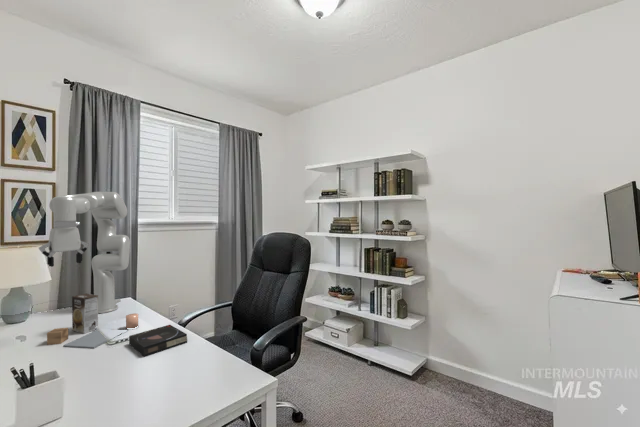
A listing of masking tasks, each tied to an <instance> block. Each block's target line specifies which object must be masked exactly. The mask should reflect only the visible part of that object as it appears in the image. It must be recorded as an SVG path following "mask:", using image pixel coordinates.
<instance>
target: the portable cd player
mask: <svg viewBox="0 0 640 427" xmlns="http://www.w3.org/2000/svg"><path fill="white" fill-rule="evenodd" d="M128 338H129V339H128V342H129V344H128V345H129V346H130V347H131V348H132V349H134V350H136V352H138V353H139V354H140V355H141V356H142V357H147V356H150V355H154V354H157V353H161V352H163V351H165V350H169V349H171V348H174V347H177V346H180V345H183V344H186V343H188V336H187V333H186V332H184V331H182V330H181V329H179V328H177V327H175V326H173V325H171V324H167V325H164V326H160V327H156V328H153V329H149V330H145V331H142V332H138V333H135V334H131V335H129V336H128Z"/></svg>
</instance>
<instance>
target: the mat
mask: <svg viewBox="0 0 640 427" xmlns="http://www.w3.org/2000/svg"><path fill="white" fill-rule="evenodd" d="M97 330H98V329H96V330H93V331H91V332H88V334H87V333H86V334H85V335H83V336H81V337H79V338H75V340H72V341H69V342H68V343H66V344H63V348H76V349H77V348H78V349H79V348H80V349H96V348H98V347H101V345H104V344H105V343H107V340H106V339H105V338H104V337H103V335H102V334H101V333H100V332H98V331H97Z"/></svg>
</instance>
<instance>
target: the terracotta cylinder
mask: <svg viewBox="0 0 640 427" xmlns="http://www.w3.org/2000/svg"><path fill="white" fill-rule="evenodd" d="M137 326H138V327H139V313H130V314H129V313H128V314H127V315H126V316H125V329H126V328H135V327H137Z"/></svg>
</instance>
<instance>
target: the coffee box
mask: <svg viewBox="0 0 640 427" xmlns="http://www.w3.org/2000/svg"><path fill="white" fill-rule="evenodd" d="M71 312H72V314H71V316H72V319H71V320H72V324H71V325H72V327H71V328H72V330H71V331H73V332H77V333H81V334H87V333H91V332H94V331H96V330H95V327H96V326H98V327H99V313H98V295H94V294H92V293H84V294H83V293H81V294H77V295H73V296H71Z"/></svg>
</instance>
